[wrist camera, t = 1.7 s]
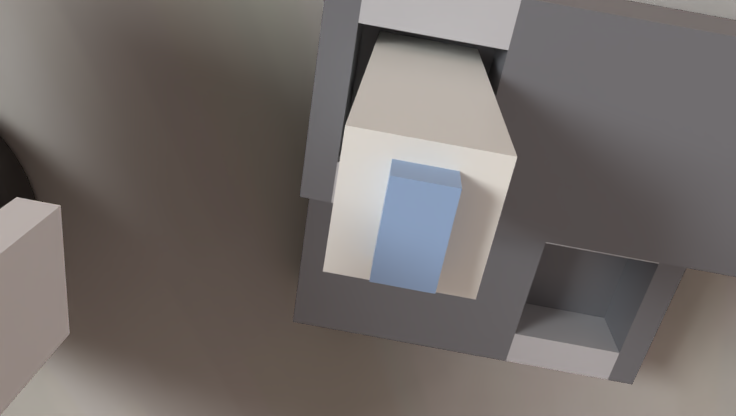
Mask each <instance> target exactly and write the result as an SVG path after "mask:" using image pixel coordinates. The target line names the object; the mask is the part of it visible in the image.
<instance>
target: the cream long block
mask: <svg viewBox="0 0 736 416" xmlns="http://www.w3.org/2000/svg"><path fill="white" fill-rule="evenodd" d="M516 160H517V154H516V152H515V149H514V146H513V144H512V141H511V138H510V136H509V133H508V130H507V127H506V125H505V122H504V119H503V117H502V114H501V111H500V108H499V106H498V103H497V100H496V98H495V95H494V92H493V89H492V87H491V84H490V81H489V79H488V76H487V73H486V70H485V68H484V65H483V62H482V60H481V57H480V54H479V51H478V49H475V48H469V47H464V46H458V45H453V44H448V43H442V42H437V41H431V40H426V39H420V38H415V37H409V36H404V35H398V34H393V33H387V32H382V31H380V33H379V35H378V38H377V41H376V43H375V46H374V49H373V51H372V54H371V57H370V60H369V62H368V65H367V68H366V70H365V73H364V76H363V78H362V81H361V84H360V87H359V89H358V92H357V95H356V97H355V100H354V103H353V105H352V108H351V111H350V114H349V116H348V119H347V122H346V124H345V130H344V136H343V143H342V149H341V156H340V162H339V169H338V175H337V182H336V189H335V195H334V202H333V208H332V215H331V221H330V228H329V234H328V241H327V248H326V254H325V261H324V267H323V272H329V273H334V274H340V275H345V276H350V277H356V278H361V279H367V280H369V282H374V283H379V284H385V285H390V286H395V287H401V288H406V289H412V290H417V291H422V292H428V293H433V294H435V293H436V292H437V293H443V294H448V295H454V296H459V297H464V298H470V299H475V300H476V297H477V293H478V290H479V287H480V283H481V280H482V276H483V273H484V269H485V266H486V263H487V259H488V256H489V252H490V249H491V245H492V242H493V239H494V235H495V232H496V228H497V225H498V221H499V218H500V215H501V211H502V208H503V204H504V201H505V197H506V194H507V191H508V187H509V184H510V180H511V177H512V174H513V170H514V167H515V163H516Z"/></svg>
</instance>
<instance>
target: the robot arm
mask: <svg viewBox="0 0 736 416" xmlns="http://www.w3.org/2000/svg"><path fill="white" fill-rule="evenodd" d="M69 334H70V330H69V316H68V302H67V287H66V273H65V259H64V244H63V230H62V216H61V205H56V204H51V203H45V202H40V201H35V198H34V194H33V192H32V189H31V186H30V184H29V181H28V179H27V177H26V175H25V173H24V171H23V169H22V167H21V165H20V164H19V162H18V160H17V159H16V157H15V156H14V154H13V153H12V151H11V150H10V148H9V147H8V146H7V144H6V143H5V142H4V141H3V139H2V138H1V137H0V415H1V414H2V413H3V412H4V410H5V409H6V408H7V407H8V406H9V404H10V403H11V402H12V401H13V400H14V399H15V397H16V396H17V395H18V394H19V393H20V392H21V390H22V389H23V388H24V387H25V386H26V385H27V383H28V382H29V381H30V380H31V379H32V377H33V376H34V375H35V374H36V373H37V372H38V370H39V369H40V368H41V367H42V366H43V365H44V363H45V362H46V361H47V360H48V359H49V357H50V356H51V355H52V354H53V353H54V352H55V350H56V349H57V348H58V347H59V346H60V345H61V343H62V342H63V341H64V340H65V339H66V338H67V336H68V335H69Z"/></svg>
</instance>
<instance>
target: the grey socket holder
mask: <svg viewBox="0 0 736 416" xmlns="http://www.w3.org/2000/svg"><path fill="white" fill-rule="evenodd" d="M380 31H382V32H387V33H393V34H398V35H404V36H409V37H415V38H420V39H426V40H431V41H437V42H442V43H448V44H453V45H458V46H464V47H469V48H475V49H478V51H479V54H480V57H481V60H482V62H483V65H484V68H485V70H486V73H487V76H488V79H489V81H490V84H491V87H492V89H493V92H494V95H495V98H496V100H497V103H498V106H499V108H500V111H501V114H502V117H503V119H504V122H505V125H506V127H507V130H508V133H509V136H510V138H511V141H512V144H513V146H514V149H515V152H516V154H517V160H516V163H515V167H514V170H513V174H512V177H511V180H510V184H509V187H508V191H507V194H506V197H505V201H504V204H503V208H502V211H501V215H500V218H499V221H498V225H497V228H496V232H495V235H494V239H493V242H492V245H491V249H490V252H489V256H488V259H487V263H486V266H485V269H484V273H483V276H482V280H481V283H480V287H479V290H478V293H477V297H476V300H475V299H470V298H464V297H459V296H454V295H448V294H443V293H437V292H436V293H435V294H433V293H428V292H422V291H417V290H412V289H406V288H401V287H395V286H390V285H385V284H379V283H374V282H369V280H367V279H361V278H356V277H350V276H345V275H340V274H334V273H329V272H323V267H324V261H325V254H326V248H327V241H328V234H329V228H330V221H331V215H332V208H333V202H334V195H335V189H336V182H337V175H338V169H339V162H340V156H341V149H342V143H343V136H344V130H345V124H346V122H347V119H348V116H349V114H350V111H351V108H352V105H353V103H354V100H355V97H356V95H357V92H358V89H359V87H360V84H361V81H362V78H363V76H364V73H365V70H366V68H367V65H368V62H369V60H370V57H371V54H372V51H373V49H374V46H375V43H376V41H377V38H378V35H379V33H380ZM300 197H304V198H309V205H308V212H307V220H306V227H305V235H304V242H303V250H302V257H301V265H300V272H299V280H298V288H297V295H296V303H295V310H294V318H293V322H297V323H303V324H308V325H313V326H319V327H324V328H330V329H335V330H340V331H346V332H351V333H357V334H362V335H368V336H373V337H378V338H384V339H389V340H395V341H400V342H405V343H411V344H416V345H422V346H427V347H433V348H438V349H443V350H449V351H454V352H460V353H465V354H470V355H476V356H481V357H487V358H492V359H497V360H503V361H508V362H514V363H519V364H525V365H530V366H535V367H541V368H546V369H552V370H557V371H562V372H568V373H573V374H579V375H584V376H590V377H595V378H600V379H606V380H611V381H617V382H622V383H627V384H633V382H634V379H635V377H636V375H637V373H638V371H639V369H640V366H641V364H642V362H643V360H644V358H645V356H646V354H647V351H648V349H649V347H650V345H651V343H652V341H653V339H654V336H655V334H656V332H657V330H658V328H659V326H660V324H661V321H662V319H663V317H664V315H665V313H666V311H667V309H668V306H669V304H670V302H671V300H672V298H673V296H674V293H675V291H676V289H677V287H678V285H679V283H680V281H681V278H682V276H683V274H684V272H685V270H686V268H690V269H695V270H701V271H706V272H712V273H717V274H723V275H728V276H733V277H736V20H733V19H727V18H722V17H716V16H711V15H705V14H700V13H694V12H689V11H683V10H678V9H672V8H667V7H661V6H656V5H650V4H645V3H639V2H634V1H628V0H324V7H323V15H322V23H321V31H320V39H319V47H318V55H317V63H316V71H315V79H314V87H313V95H312V103H311V111H310V119H309V127H308V135H307V143H306V151H305V159H304V167H303V175H302V183H301V191H300Z"/></svg>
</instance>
